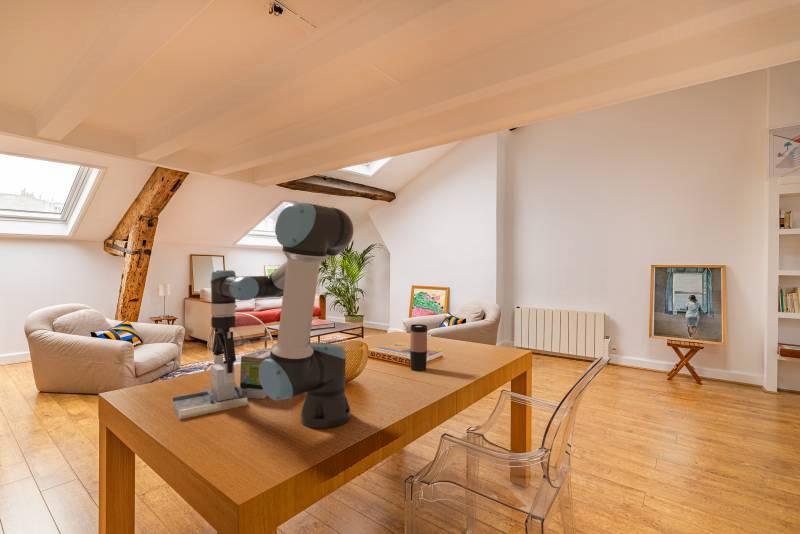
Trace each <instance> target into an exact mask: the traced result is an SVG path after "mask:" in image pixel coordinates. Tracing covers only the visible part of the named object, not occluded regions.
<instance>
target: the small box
mask: <svg viewBox="0 0 800 534" xmlns="http://www.w3.org/2000/svg"><path fill="white" fill-rule="evenodd" d="M210 367H211V370H210V371H211V372H210V373H211V377H210V378H211V386H210V387H211V388H210V390H211V392H212V393H213V394H214V398H215V399H216V401H222V400H227V399H232V398H234V382H235V381H234V382H231V383H226V384H225V383H224V364H218V365H214V364H212V365H211V366H210Z"/></svg>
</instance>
